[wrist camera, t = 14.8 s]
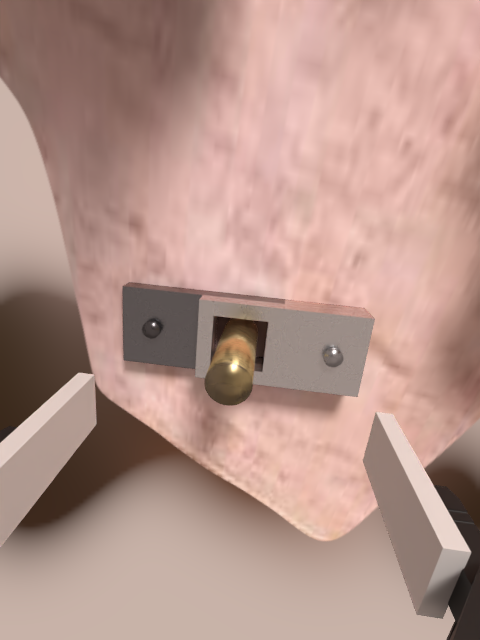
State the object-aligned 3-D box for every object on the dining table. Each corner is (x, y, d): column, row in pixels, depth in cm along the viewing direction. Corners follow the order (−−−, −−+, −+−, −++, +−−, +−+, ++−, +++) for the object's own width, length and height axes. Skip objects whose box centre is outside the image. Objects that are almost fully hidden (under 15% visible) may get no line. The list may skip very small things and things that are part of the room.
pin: (217, 329, 42) (194, 380, 29) (243, 309, 41) (231, 352, 28) (238, 354, 42) (225, 413, 30) (264, 334, 41) (262, 388, 29)
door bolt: (129, 282, 41) (111, 291, 36) (364, 308, 40) (376, 321, 35) (130, 353, 44) (113, 370, 39) (349, 379, 42) (359, 400, 38)
